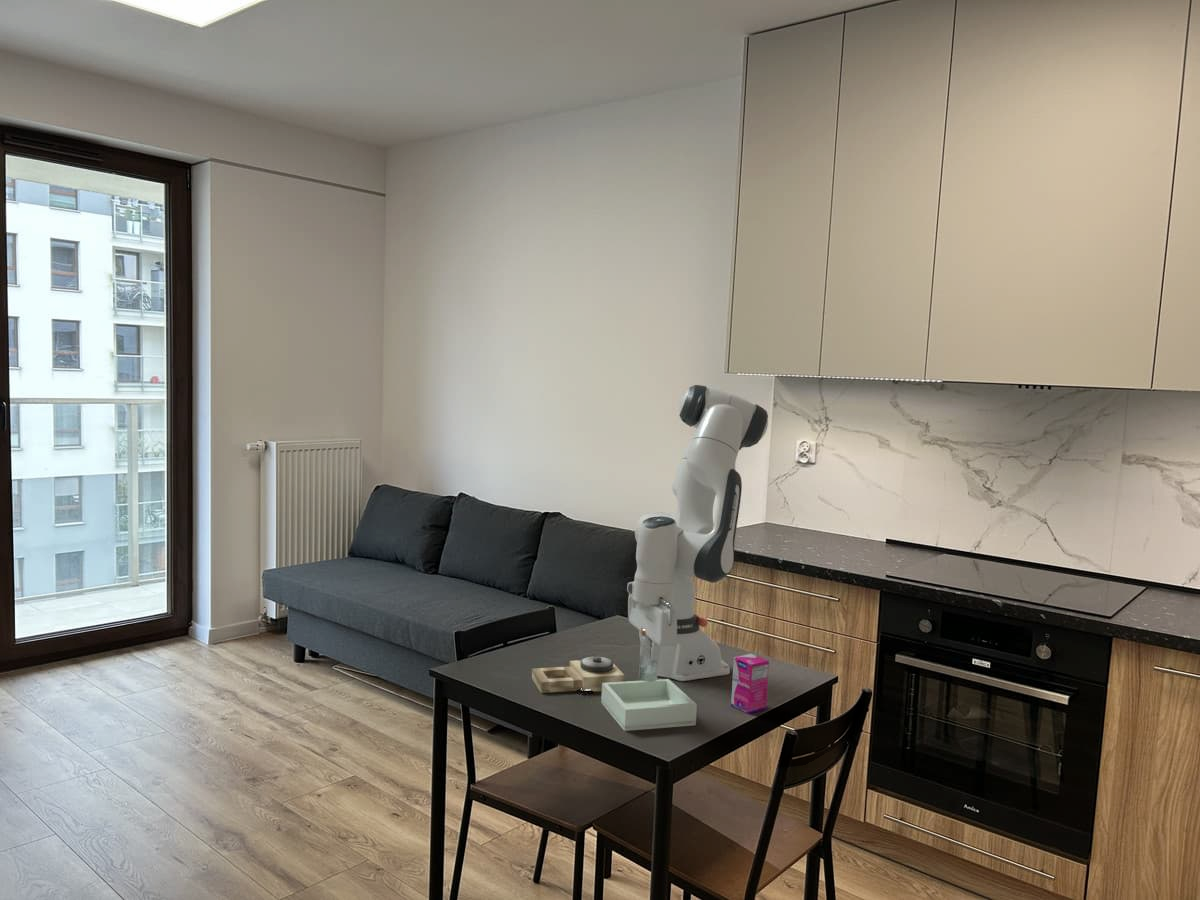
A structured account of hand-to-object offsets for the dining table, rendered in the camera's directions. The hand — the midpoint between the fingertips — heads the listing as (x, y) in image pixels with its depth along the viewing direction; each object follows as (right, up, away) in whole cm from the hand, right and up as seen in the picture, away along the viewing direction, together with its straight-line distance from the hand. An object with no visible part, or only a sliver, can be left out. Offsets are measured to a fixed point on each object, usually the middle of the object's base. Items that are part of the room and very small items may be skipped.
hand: (649, 655), depth 189 cm
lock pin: (0, -5, 0) cm, 5 cm away
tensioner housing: (-16, -11, +18) cm, 27 cm away
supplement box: (+23, -14, +8) cm, 28 cm away
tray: (0, -13, +1) cm, 13 cm away
